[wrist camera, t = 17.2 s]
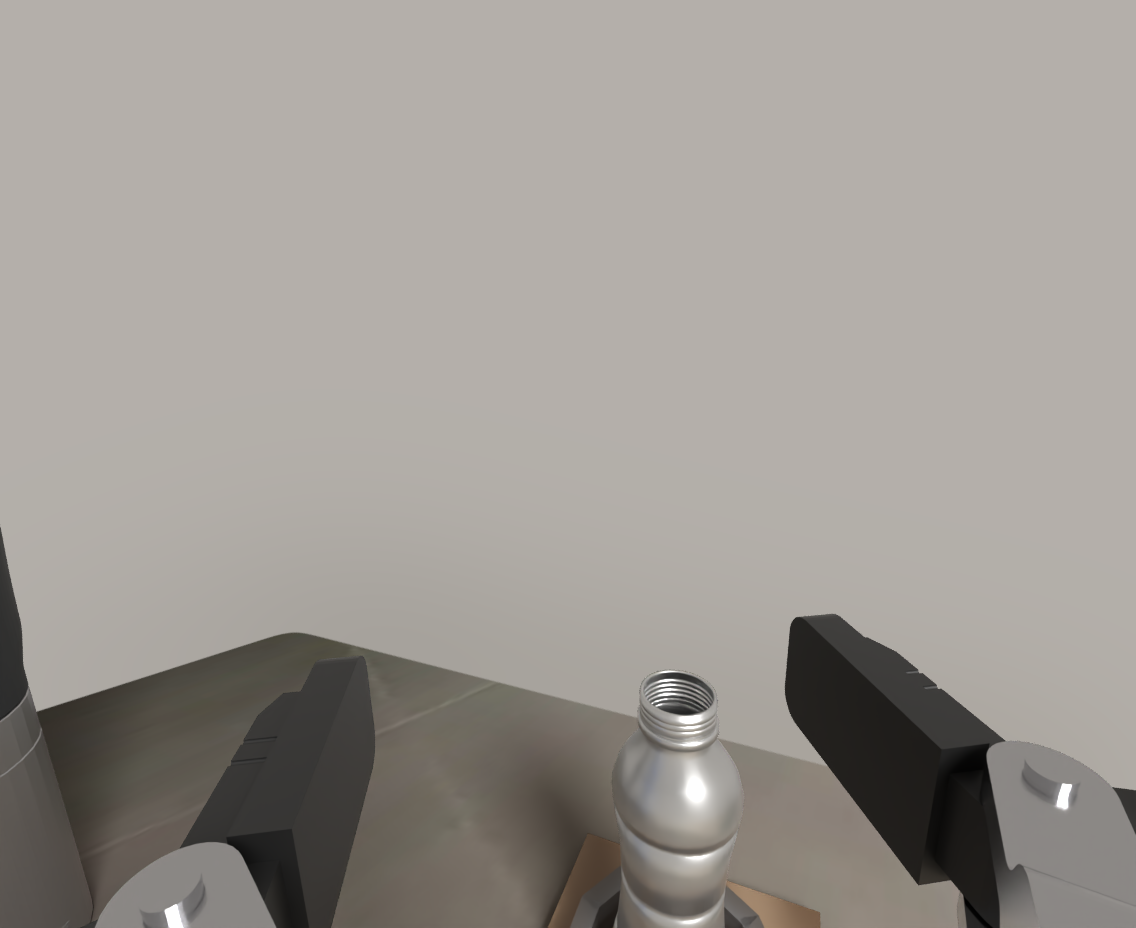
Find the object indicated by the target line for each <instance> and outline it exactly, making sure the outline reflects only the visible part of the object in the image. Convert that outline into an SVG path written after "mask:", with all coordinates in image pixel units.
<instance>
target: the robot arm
mask: <svg viewBox="0 0 1136 928" xmlns="http://www.w3.org/2000/svg"><path fill="white" fill-rule="evenodd" d="M785 696H786V702H787V705H788V709H789V712H790V714H791V716H792V718H793V720H794V722H795V723H796V724H797V726H798V727H799V729H800V730H801V731H802V733H803V734H804V735H805V736H806V738H807V739H808V740H809V742H810V743H811V744H812V746H813V747H814V748H815V750H816V751H817V752H818V754H819V755H820V756H821V758H822V759H823V760H824V761H825V763H826V764H827V765H828V767H829V768H830V769H831V771H832V772H833V773H834V775H835V776H836V777H837V779H838V780H839V781H840V783H841V784H842V785H843V787H844V788H845V789H846V790H847V792H848V793H849V794H850V796H851V797H852V798H853V800H854V801H855V802H856V804H857V805H858V806H859V808H860V809H861V810H862V812H863V813H864V814H865V816H866V817H867V818H868V819H869V821H870V822H871V823H872V825H873V826H874V827H875V829H876V830H877V831H878V833H879V834H880V835H881V837H882V838H883V839H884V841H885V842H886V843H887V845H888V846H889V847H890V848H891V850H892V851H893V852H894V854H895V855H896V856H897V858H898V859H899V860H900V862H901V863H902V864H903V866H904V867H905V868H906V870H907V871H908V872H909V873H910V875H911V876H912V877H913V879H914V880H915V881H916V883H917V884H918V885H923V884H929V883H936V882H942V881H948V880H951V881H952V882H953V883H954V884H955V886H956V887H957V888H958V889H959V890H960V894H959V899H958V904H957V918H958V928H1136V790H1129V789H1121V788H1114V787H1111V786H1110V785H1109V784H1108V783H1107V782H1106V781H1105V780H1104V779H1103V778H1102V777H1101V776H1100V775H1098V774H1097V773H1096V772H1094V771H1093V770H1092V769H1090V768H1089V767H1087V766H1085V765H1084V764H1082V763H1081V762H1079V761H1077V760H1075V759H1073V758H1071V757H1069V756H1067V755H1065V754H1063V753H1061V752H1058V751H1055V750H1053V749H1050V748H1047V747H1044V746H1041V745H1037V744H1033V743H1028V742H1021V741H1005V740H1004V739H1003V738H1001V737H1000V736H999V735H998V734H996V733H995V732H994V731H993V730H991V729H990V728H989V727H988V726H987V725H985V724H984V723H983V722H982V721H980V720H979V719H978V718H977V717H976V716H974V715H973V714H972V713H971V712H969V711H968V710H967V709H966V708H964V707H963V706H962V705H961V704H960V703H958V702H957V701H956V700H955V699H954V698H952V697H951V696H950V695H948V694H947V693H946V692H945V691H944V690H942V689H938V688H937V685H936V684H935V683H934V682H933V681H931V680H930V679H929V678H928V677H926V676H925V675H924V674H923V673H920V674H919V672H918V669H917V668H915V667H914V666H913V665H911V663H909V662H908V661H907V660H906V659H904V658H903V657H902V656H901V655H900V654H898V653H897V652H895V651H894V650H892V649H889V648H887V647H885V646H884V645H882V644H880V643H878V642H876V641H873V640H871V639H869V638H865V637H863V636H862V635H861V634H860V633H859V632H858V631H856V630H855V629H854V628H853V627H852V626H850V625H849V624H848V623H847V622H846V621H845V620H843V619H842V618H841V617H840V616H838V615H836V614H826V615H815V616H804V617H796V618H795V619H794V620H793V621H792V623H791V626H790V634H789V646H788V658H787V669H786V681H785ZM374 754H375V730H374V721H373V713H372V705H371V697H370V689H369V681H368V673H367V666H366V662H365V659H364V657H363V656H354V657H343V658H332V659H321V660H317V662H316V663H315V664H314V666H313V668H312V670H311V672H310V674H309V676H308V678H307V680H306V682H305V684H304V686H303V688H302V690H301V691H300V692H290V693H283V694H282V695H281V696H280V697H278V698H277V699H276V700H275V701H274V702H273V703H272V704H270V705H269V706H268V707H267V708H266V709H265V710H263V711H262V712H261V713H260V714H259V715H258V716H257V718H256V720H255V721H254V723H253V725H252V726H251V728H250V730H249V732H248V733H247V735H246V737H245V738H244V743H243V745H240V747H239V749H238V750H237V752H236V754H235V755H234V757H233V759H232V760H231V766H228V767H227V769H226V771H225V772H224V774H223V776H222V777H221V779H220V781H219V783H218V784H217V786H216V788H215V789H214V791H213V793H212V794H211V796H210V798H209V800H208V801H207V803H206V805H205V806H204V808H203V810H202V811H201V813H200V815H199V817H198V818H197V820H196V822H195V823H194V825H193V827H192V828H191V830H190V832H189V834H188V835H187V837H186V839H185V840H184V842H183V844H182V845H181V847H180V849H179V850H176V851H173V852H171V853H169V854H167V855H165V856H163V857H161V858H159V859H158V860H156V861H154V862H153V863H151V864H150V865H148V866H147V867H145V868H144V869H142V870H141V871H140V872H138V873H137V874H136V875H135V876H133V877H132V878H131V879H130V880H129V881H128V882H126V883H125V884H124V885H123V886H122V887H121V888H120V890H119V891H118V892H117V893H116V894H115V895H114V896H113V897H112V899H111V900H110V901H109V902H108V904H107V905H106V907H105V908H104V910H103V912H102V913H101V915H100V917H99V919H98V920H96V921H94V922H92V923H90V921H91V916H92V911H93V904H92V898H91V894H90V891H89V887H88V884H87V881H86V877H85V874H84V871H83V867H82V864H81V860H80V856H79V852H78V849H77V846H76V842H75V839H74V835H73V832H72V829H71V825H70V822H69V819H68V815H67V812H66V809H65V805H64V802H63V799H62V795H61V792H60V788H59V785H58V782H57V778H56V775H55V772H54V768H53V765H52V762H51V758H50V755H49V752H48V748H47V745H46V741H45V738H44V735H43V731H42V728H41V726H40V722H39V719H38V716H37V712H36V709H35V706H34V702H33V699H32V695H31V692H30V689H29V686H28V681H27V678H26V674H25V670H24V666H23V646H22V628H21V622H20V617H19V613H18V609H17V604H16V601H15V597H14V592H13V588H12V583H11V578H10V574H9V569H8V564H7V559H6V554H5V548H4V544H3V538H2V533H1V528H0V928H331V925H332V921H333V918H334V914H335V910H336V906H337V902H338V899H339V895H340V891H341V887H342V883H343V879H344V876H345V872H346V868H347V864H348V860H349V857H350V853H351V849H352V845H353V841H354V838H355V834H356V830H357V826H358V822H359V819H360V815H361V811H362V807H363V803H364V799H365V796H366V792H367V788H368V784H369V780H370V777H371V773H372V769H373V763H374Z"/></svg>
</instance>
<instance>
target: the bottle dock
mask: <svg viewBox="0 0 1136 928" xmlns="http://www.w3.org/2000/svg"><path fill="white" fill-rule="evenodd" d="M621 881H622V873H621V852H620V844H618V843H615V842H612V841H609V840H606V839H603V838H600V837H597V836H595V835H592V834H589V833H588V834H587V836H586V839H585V841H584V844H583V846H582V848H581V851H580V853H579V855H578V858H577V860H576V862H575V865H574V867H573V869H572V872H571V874H570V876H569V879H568V881H567V884H566V886H565V888H564V891H563V893H562V895H561V898H560V900H559V902H558V905H557V907H556V909H555V912H554V914H553V917H552V919H551V921H550V924H549V926H548V928H613V926H614V921H615V918H616V915H617V912H618V905H619V897H620V889H621ZM724 922H725V928H820V912H817V911H814V910H811V909H808V908H805V907H802V906H799V905H797V904H794V903H791V902H788V901H785V900H782V899H779V898H776V897H773V896H770V895H767V894H764V893H761V892H758V891H756V890H753V889H750V888H747V887H744V886H741V885H738V884H735V883H732V882H729V881H727V883H726V887H725V897H724Z"/></svg>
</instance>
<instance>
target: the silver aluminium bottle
mask: <svg viewBox="0 0 1136 928" xmlns="http://www.w3.org/2000/svg"><path fill="white" fill-rule="evenodd" d="M717 704H718V700H717V694H716V691H715V689H714V688H713V687H712V685H711V684H710V683H709V682H707V681H706V680H705V679H703V678H701V677H700V676H698V675H695V674H693V673H689V672H686V671H681V670H663V671H657V672H655V673H652V674H650V675H649V676H647V677H646V678H645V679H644V680H643V681H642V683H641V686H640V705H639V708H638V725H639V728H638V729H637V730H636V731H635V732H634V733H633V734H632V735H631V736H630V738H629V739H628V740H627V741H626V742H625V744H624V745H623V747H622V748H621V750H620V751H619V754H618V757H617V759H616V762H615V765H614V768H613V771H612V792H613V800H614V807H615V813H616V819H617V825H618V832H619V838H620V852H621V873H622V881H621V889H620V897H619V905H618V912H617V915H616V918H615V921H614V926H613V928H725V922H724V897H725V887H726V883H727V876H728V869H729V862H730V858H731V854H732V851H733V847H734V844H735V840H736V836H737V833H738V829H739V826H740V822H741V819H742V813H743V807H744V792H743V788H742V784H741V780H740V776H739V773H738V769H737V767H736V765H735V763H734V761H733V760H732V758H731V757H730V755H729V754H728V752H727V751H726V749H725V748H724V746H723V745H722V744H721V743H720V741H719V740H718V739H717V737H718V735H719V719H718V716H717V707H718V705H717Z"/></svg>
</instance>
